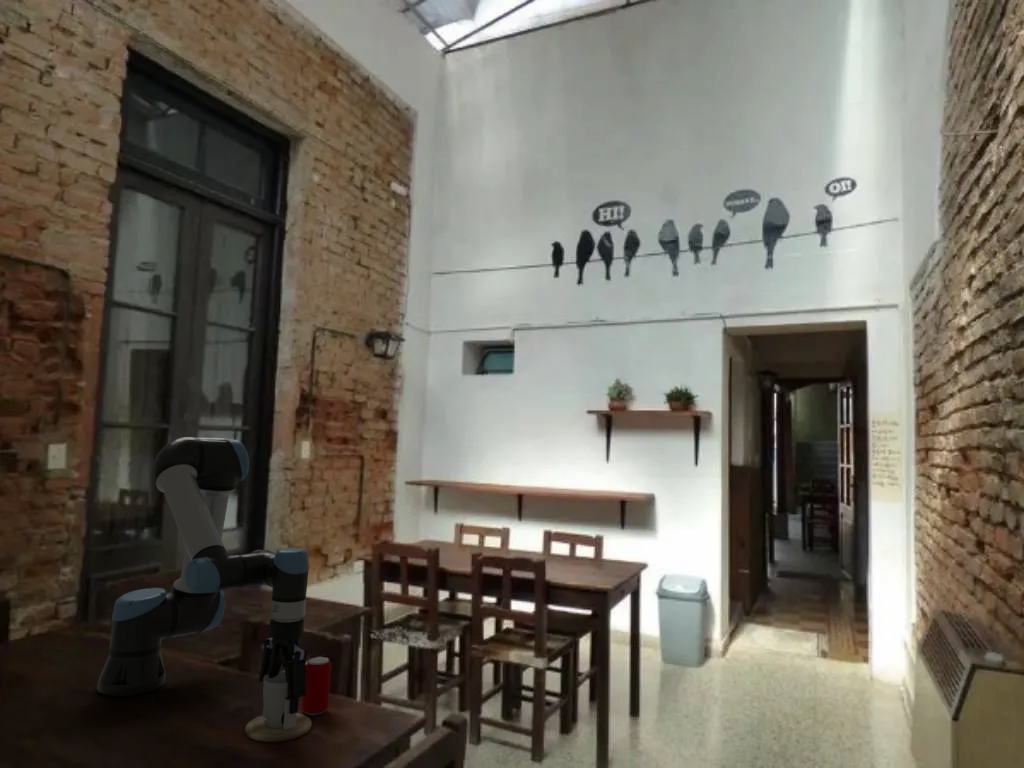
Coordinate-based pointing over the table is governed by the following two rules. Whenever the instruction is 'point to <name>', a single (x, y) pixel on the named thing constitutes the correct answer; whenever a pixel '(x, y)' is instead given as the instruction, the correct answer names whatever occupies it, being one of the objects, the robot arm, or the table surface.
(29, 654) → the table surface
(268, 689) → the cup
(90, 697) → the table surface
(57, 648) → the table surface
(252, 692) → the table surface
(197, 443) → the robot arm
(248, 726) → the plate
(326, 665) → the beverage can
